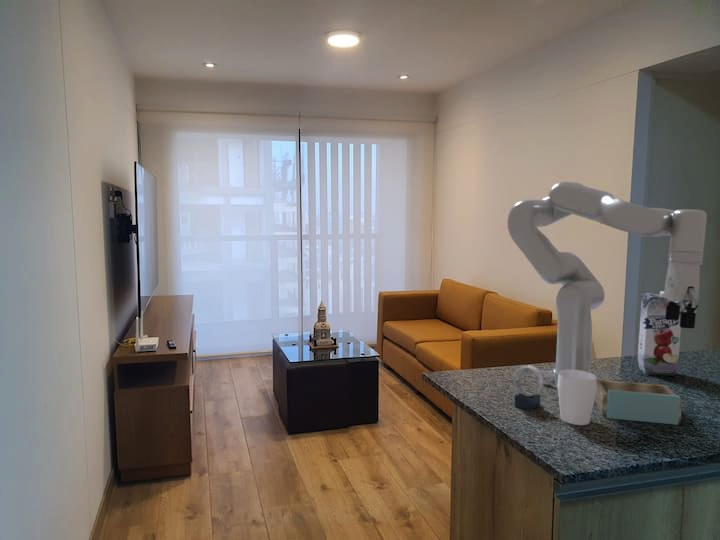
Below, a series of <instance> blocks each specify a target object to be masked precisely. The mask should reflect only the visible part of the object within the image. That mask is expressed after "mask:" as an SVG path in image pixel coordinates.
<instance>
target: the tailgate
mask: <svg viewBox="0 0 720 540" xmlns="http://www.w3.org/2000/svg"><path fill="white" fill-rule="evenodd" d="M680 399H681V397H680V395H679V394H676V395H668V394H656V393H643V392H631V391H619V390H608V396H607V413H606V416H605V418H606V419H614V420H625V421H636V422H643V423H644V422H646V423H656V424H667V425H676V426H677V425H678V426H679V423H678V419H679V406H680Z"/></svg>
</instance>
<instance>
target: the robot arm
mask: <svg viewBox="0 0 720 540" xmlns="http://www.w3.org/2000/svg"><path fill="white" fill-rule="evenodd" d="M571 215H575V216H579V217H581V218H585V219H587V220H591V221H593V222H597V223H600V224H602V225H606V226H608V227H610V228H613V229H616V230H618V231H622V232H625V233H629V234H632V235H635V236H638V237H642V238H643V237H644V238H655V237H656V238H657V237H665V236H666V237H667V236H669V247H668V258H667V264H668V267H667V272H666V275H665V276H666V277H665V281H664V290H663V291H664V297H665V298H666V299H667V301H666V304H669V305H666V315H665V319H667V320H679V313H680V305H679V303H680V301H681V305H682V312H681V316H680V327H681V329H694V328H695V326H696V315H697V312H698V310H697V308H698V307H699V305H698V304H699V301H700V297H699V293H700V277H701V276H700V274H701V273H700V266H702V265H703V258H704V250H705V249H704V248H705V240H706V229H707V228H706V227H707V219H708V218H707V217H708V216H707V212H706V211H704V210H702V209H685V208H684V209H683V208H682V209H681V208H680V209H676V210H675V209H668V208H662V207H648V206H645V205H639V204H637V203H636V204H635V203H633V202H629V201H626V200H622V199H620V198H617V197H616V196H615V195H613V194H612V193H610V192H608V191H605V190H600V189H596V188H592V187H588V186H585V185H584V184H581V183H579V182H575V181H573V182H572V181H559V182H557V183H555V184H554V185H553V186H551V188H550V190H549V192H548V196H547V197H544V198H541V199H524V200H520V201H518V202H516V203H515V204H514V205H513V206H512V208H511V209H510V210H509V213H508V216H507V229H508V233H509V235H510V238H511V239H512V241H513V242H514V244H515V245H516V246H517V248H518V249H519V250H520V252H521V253H523V255H524V256H525V257H526V258H527V261H528V262H529V263H530V264H531V265H532V267H533V268H534V269H535V271H536V272H537V274H538V275H539V277H540V278H541V280H543V281H544V282H545V283H547V284H550V285H557V284H559V285H560V284H561V285H562V287H560V289H559V290H558V292H557V294H556V299H555V303H556V305H555V306H556V313H557V328H556V332H557V333H556V334H557V335H556V337H557V339H556V353H555V354H556V357H555V367H553V368H552V370H541V369H539V370H540V372H541V373H542V374H541V375H543V380H544V379H545V380H546V379H547V380H549V382H548V383H549V385H550V386H551V387H552V388H553V389H555V390H558V377H559V372H560V371H562V370H581V371H586V372H590V373H591V357H592V341H593V322H592V314H591V311H593V310H596V309H598V308H599V307H600V306H601V305H602V304H603V303H604V300H605V290H604V287H603V286H602V284H601V283H600V281H599V280H598V279H597V278H596V277H595V275H594V274H593V272H591V270H590V269H589V268H588V267H587V266H586V264H585V263H584V262H583V260H581V258H579V256H577V255H576V254H574V253H573V252H572V253H571V252H568V251H559V250H558V249H557V248H556V247H555V246H554V244H553V243H552V242H551V240H550V239H549V238H548V236H546V235H545V234H544V233H543V232H542V231H540V229H539V228H540V227H541V228H542V227H547V226H549V225H552V224H554V223H556V222H558V221H560V220H563V219H564V218H567V217H569V216H571Z"/></svg>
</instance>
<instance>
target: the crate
mask: <svg viewBox="0 0 720 540" xmlns="http://www.w3.org/2000/svg"><path fill="white" fill-rule="evenodd" d="M608 390H619V391H631V392H643V393H656V394H668V395H677V394H675V392H674V391H673V390H671V388H670V387H669V386H668V385H667V384H659V383H658V384H657V383H644V382H643V383H642V382H641V383H640V382H632V381H630V382H629V381H617V380H605V379H604V380H603V379H597V391H596V396H595V400H594V404H595V406H596V408H597V409H598V411H599V414H600V415H601V417H603V416H604V417H606V413H607V396H608ZM682 407H683V401H682V399H681V398H680V406H679V419H678V424H679V423H680V424H681V421H682V419H681V418H682Z"/></svg>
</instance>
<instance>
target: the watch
mask: <svg viewBox="0 0 720 540" xmlns="http://www.w3.org/2000/svg"><path fill="white" fill-rule="evenodd" d="M540 370H541V369H539V368H538V367H536V366H534V365H532V364H531V365H530V364H528V365H525V364H524V365H522V366H520V367H518V369H517V370H516V371H514V373H513V375H512V379H513V380H512V381H513V382H512V383H513V385H514V387H515V389H516V391H517V392H518V393H516V394H515V395H514V407H515V408H519V409H522V410H525V411H529V412H530V411H531V410H535V409H536V408H538V407H540V406H541V395H542V394H539V393H540V392H541V390H542V389H543V386H544V384H545V383H544V377H543V375H541V374H542V373H541V372H540ZM529 371H531V372H533V373H534V374H535V375H536V377H537V379H538V380H537V383H536V384H535V385H536V386H535V388H534V390H533V391H529V390H525V389H524V388H523V386H522V385H521V383H520V382H521V381H522V380H523V379H524V378H525V377H526V376H527V375H528V373H529Z"/></svg>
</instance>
